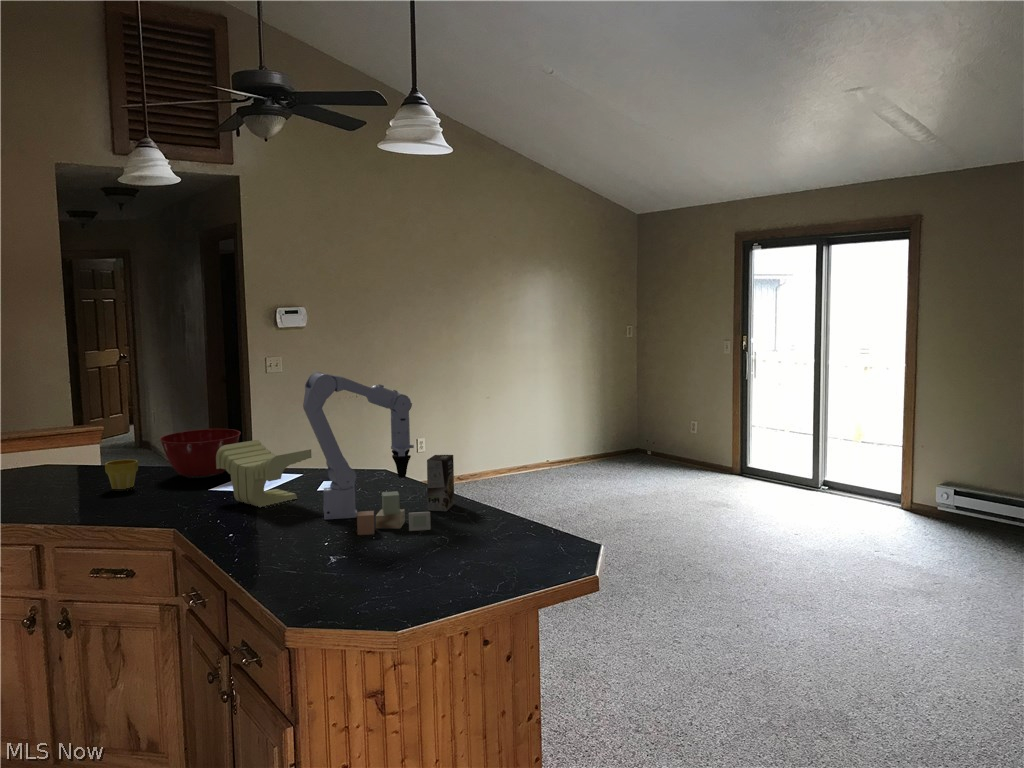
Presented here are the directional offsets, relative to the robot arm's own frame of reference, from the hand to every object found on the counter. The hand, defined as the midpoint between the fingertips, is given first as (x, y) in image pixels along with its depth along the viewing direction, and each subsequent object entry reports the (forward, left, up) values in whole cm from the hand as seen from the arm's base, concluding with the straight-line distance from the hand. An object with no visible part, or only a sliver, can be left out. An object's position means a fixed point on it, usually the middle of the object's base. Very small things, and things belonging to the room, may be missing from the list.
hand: (401, 474), depth 248 cm
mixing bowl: (-73, +64, -11) cm, 98 cm away
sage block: (-4, -19, -7) cm, 20 cm away
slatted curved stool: (-44, +17, -11) cm, 48 cm away
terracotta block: (-11, -25, -10) cm, 29 cm away
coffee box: (+12, -3, -11) cm, 16 cm away
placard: (+4, -26, -10) cm, 28 cm away
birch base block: (-4, -19, -11) cm, 22 cm away
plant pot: (-96, +46, -11) cm, 107 cm away
